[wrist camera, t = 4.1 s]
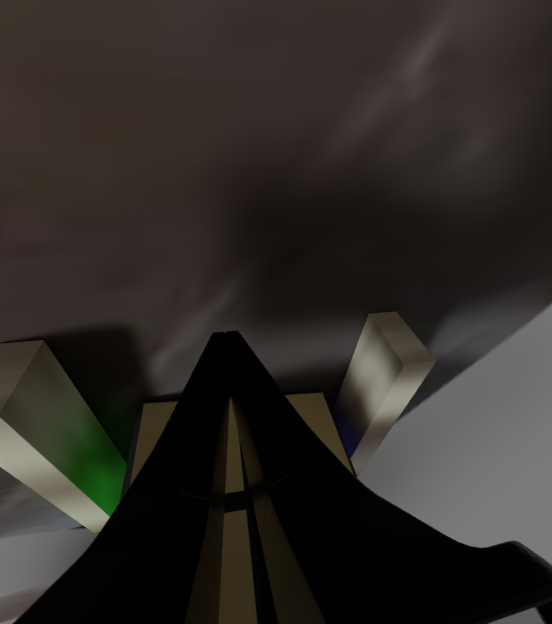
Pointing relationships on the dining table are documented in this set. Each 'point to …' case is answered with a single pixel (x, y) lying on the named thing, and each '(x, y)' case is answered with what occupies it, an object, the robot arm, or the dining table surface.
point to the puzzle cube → (238, 503)
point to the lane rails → (109, 462)
